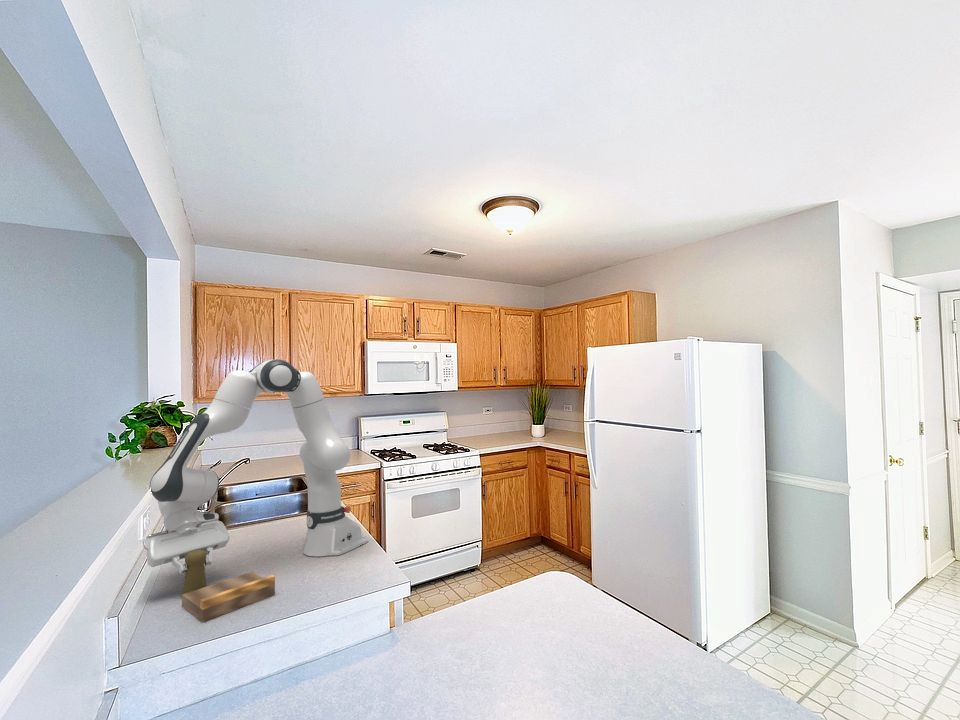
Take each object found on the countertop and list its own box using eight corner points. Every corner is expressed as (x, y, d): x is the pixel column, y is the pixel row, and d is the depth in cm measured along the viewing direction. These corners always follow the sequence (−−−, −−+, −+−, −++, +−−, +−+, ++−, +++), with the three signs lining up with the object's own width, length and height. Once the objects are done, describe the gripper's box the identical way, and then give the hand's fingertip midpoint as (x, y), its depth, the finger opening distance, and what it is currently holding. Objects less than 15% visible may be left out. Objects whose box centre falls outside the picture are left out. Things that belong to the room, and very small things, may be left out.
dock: (251, 582, 132) (251, 564, 133) (274, 594, 124) (274, 576, 124) (181, 606, 118) (182, 586, 119) (202, 622, 109) (202, 601, 110)
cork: (194, 596, 122) (196, 555, 123) (176, 595, 124) (177, 554, 124) (212, 587, 128) (213, 547, 129) (194, 585, 129) (195, 546, 130)
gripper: (143, 529, 123) (155, 574, 117) (223, 511, 139) (237, 550, 133) (138, 543, 126) (149, 587, 119) (217, 524, 142) (230, 562, 135)
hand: (196, 567), depth 126 cm, fingers closed on cork, 5 cm apart
